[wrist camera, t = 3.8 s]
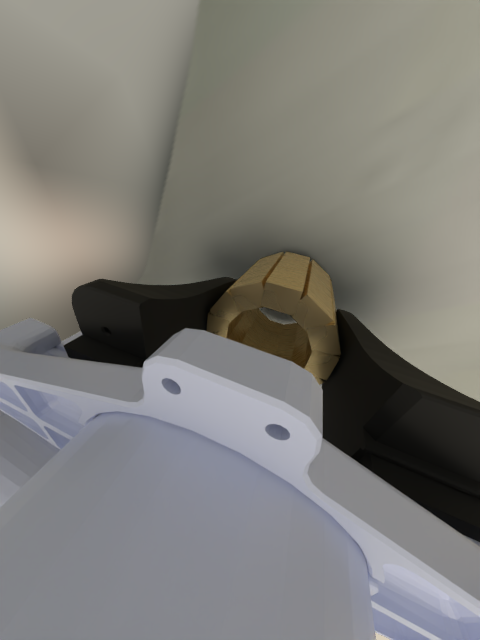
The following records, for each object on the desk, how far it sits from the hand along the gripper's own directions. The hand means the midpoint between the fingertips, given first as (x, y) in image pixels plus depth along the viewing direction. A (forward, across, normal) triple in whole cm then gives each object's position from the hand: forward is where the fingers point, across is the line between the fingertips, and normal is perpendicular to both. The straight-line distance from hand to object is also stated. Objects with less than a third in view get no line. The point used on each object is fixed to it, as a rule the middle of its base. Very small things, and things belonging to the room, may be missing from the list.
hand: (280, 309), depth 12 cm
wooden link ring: (+1, 0, 0) cm, 1 cm away
